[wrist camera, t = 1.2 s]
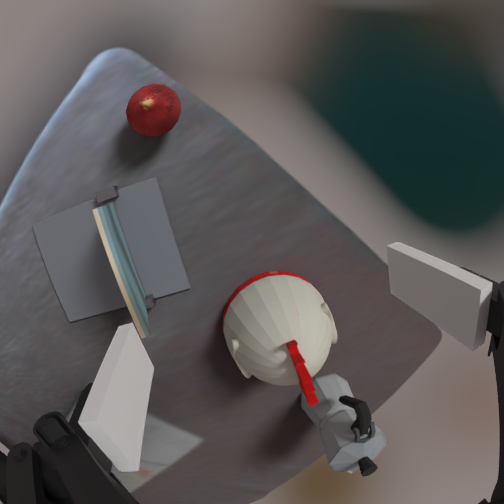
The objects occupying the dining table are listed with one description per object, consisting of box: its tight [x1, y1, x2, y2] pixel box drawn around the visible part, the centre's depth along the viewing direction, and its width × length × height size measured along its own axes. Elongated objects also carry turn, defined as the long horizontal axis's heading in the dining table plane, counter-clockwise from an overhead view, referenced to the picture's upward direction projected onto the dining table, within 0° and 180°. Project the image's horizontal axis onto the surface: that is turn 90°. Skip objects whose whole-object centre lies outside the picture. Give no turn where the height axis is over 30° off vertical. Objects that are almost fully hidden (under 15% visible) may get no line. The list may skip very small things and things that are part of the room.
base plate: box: [32, 177, 191, 322], centre depth 34 cm, size 18×14×1 cm
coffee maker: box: [301, 373, 387, 476], centre depth 37 cm, size 15×9×18 cm, turn 5°
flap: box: [93, 201, 150, 338], centre depth 28 cm, size 13×12×1 cm
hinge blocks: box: [95, 186, 156, 309], centre depth 34 cm, size 2×15×1 cm, turn 14°
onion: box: [126, 84, 181, 137], centre depth 28 cm, size 6×6×8 cm
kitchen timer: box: [222, 271, 337, 407], centre depth 33 cm, size 14×14×15 cm
